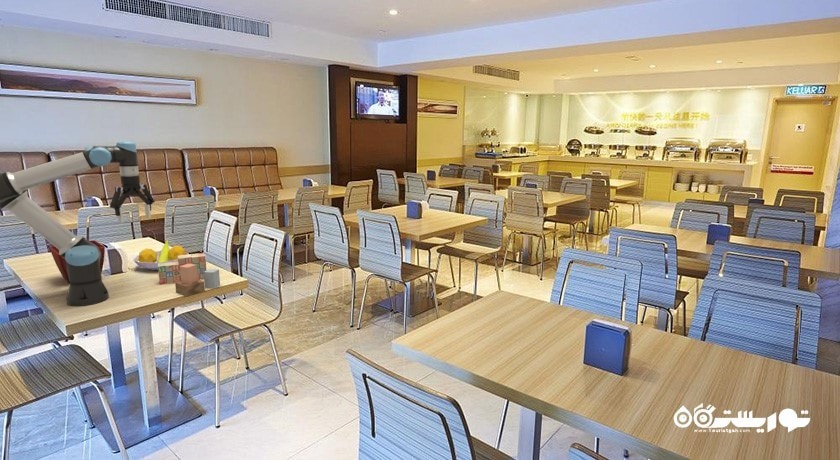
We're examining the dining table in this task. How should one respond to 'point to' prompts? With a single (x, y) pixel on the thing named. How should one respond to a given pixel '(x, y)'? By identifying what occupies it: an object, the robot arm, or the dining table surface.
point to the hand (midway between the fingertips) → (134, 220)
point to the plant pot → (62, 262)
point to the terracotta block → (188, 273)
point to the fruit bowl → (158, 256)
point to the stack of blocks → (172, 269)
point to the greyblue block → (211, 278)
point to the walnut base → (189, 288)
